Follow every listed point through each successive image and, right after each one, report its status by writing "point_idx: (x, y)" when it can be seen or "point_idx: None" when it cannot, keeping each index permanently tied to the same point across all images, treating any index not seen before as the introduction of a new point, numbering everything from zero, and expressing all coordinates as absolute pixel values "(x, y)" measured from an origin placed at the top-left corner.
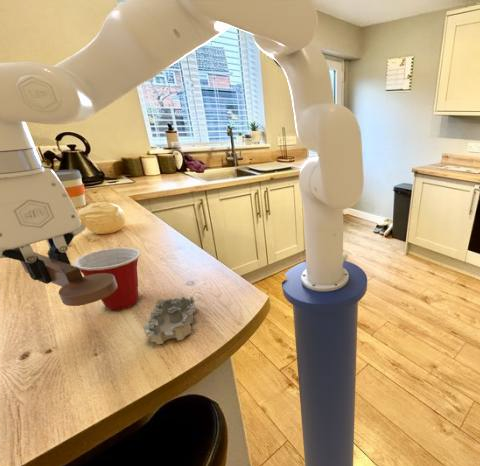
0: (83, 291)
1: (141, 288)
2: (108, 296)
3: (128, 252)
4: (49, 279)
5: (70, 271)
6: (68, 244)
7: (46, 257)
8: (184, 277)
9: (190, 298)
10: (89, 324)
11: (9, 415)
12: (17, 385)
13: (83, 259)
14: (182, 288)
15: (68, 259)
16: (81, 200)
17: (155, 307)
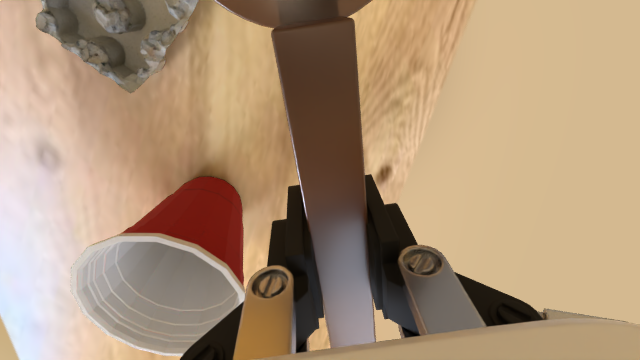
0: None
1: None
2: (227, 205)
3: (111, 311)
4: None
5: (322, 24)
6: (235, 310)
7: (329, 303)
8: (57, 196)
9: (47, 30)
10: (284, 180)
11: (465, 15)
12: (423, 96)
13: None
14: (75, 150)
15: (270, 244)
16: None
17: (150, 71)
